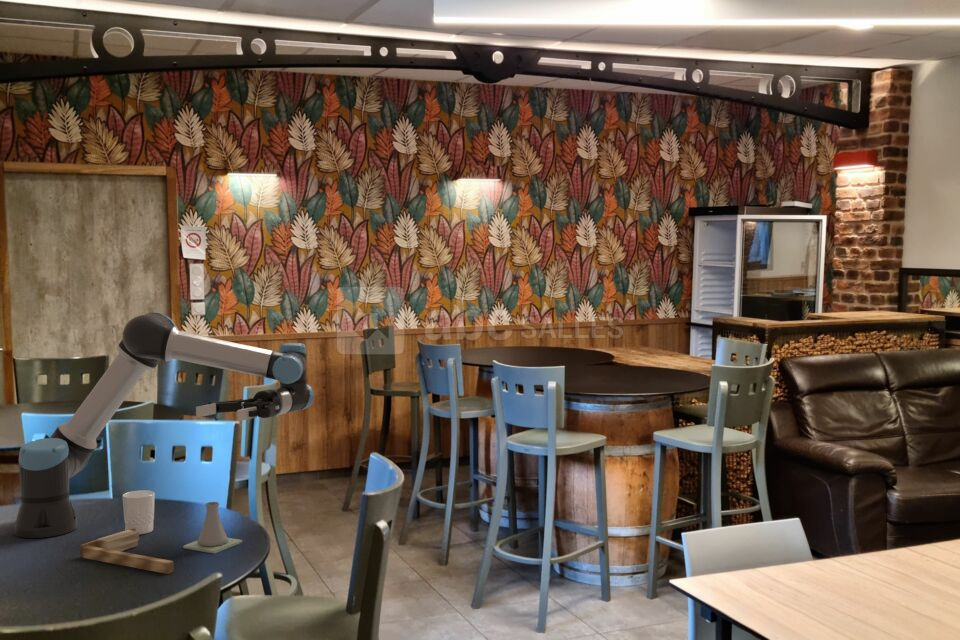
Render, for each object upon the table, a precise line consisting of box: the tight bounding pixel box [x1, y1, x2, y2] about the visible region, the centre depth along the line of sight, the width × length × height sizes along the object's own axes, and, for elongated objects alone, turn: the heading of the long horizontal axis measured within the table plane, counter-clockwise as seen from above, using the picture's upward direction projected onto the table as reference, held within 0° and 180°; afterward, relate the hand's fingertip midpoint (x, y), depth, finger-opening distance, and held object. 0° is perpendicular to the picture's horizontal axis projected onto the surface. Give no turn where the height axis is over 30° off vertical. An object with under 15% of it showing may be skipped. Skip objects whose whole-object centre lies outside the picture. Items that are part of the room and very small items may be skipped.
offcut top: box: [96, 530, 140, 549], centre depth 224 cm, size 4×9×2 cm, turn 148°
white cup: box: [122, 489, 156, 536], centre depth 240 cm, size 8×8×10 cm
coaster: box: [182, 537, 243, 554], centre depth 228 cm, size 10×10×1 cm
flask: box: [196, 501, 229, 546], centre depth 227 cm, size 7×7×10 cm
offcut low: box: [110, 540, 139, 552], centre depth 224 cm, size 4×9×2 cm, turn 154°
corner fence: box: [79, 528, 174, 575], centre depth 219 cm, size 28×16×3 cm, turn 64°
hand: (217, 413), depth 232 cm, fingers open, 13 cm apart
